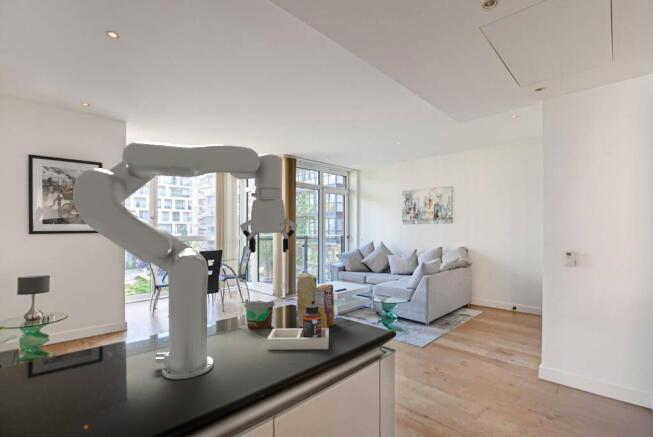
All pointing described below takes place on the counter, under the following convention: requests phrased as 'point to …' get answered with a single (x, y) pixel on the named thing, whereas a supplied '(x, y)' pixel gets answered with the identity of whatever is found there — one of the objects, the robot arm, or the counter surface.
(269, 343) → the holder
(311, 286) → the food model
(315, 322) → the supplement bottle
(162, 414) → the counter surface
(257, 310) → the food container
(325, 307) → the candy box
